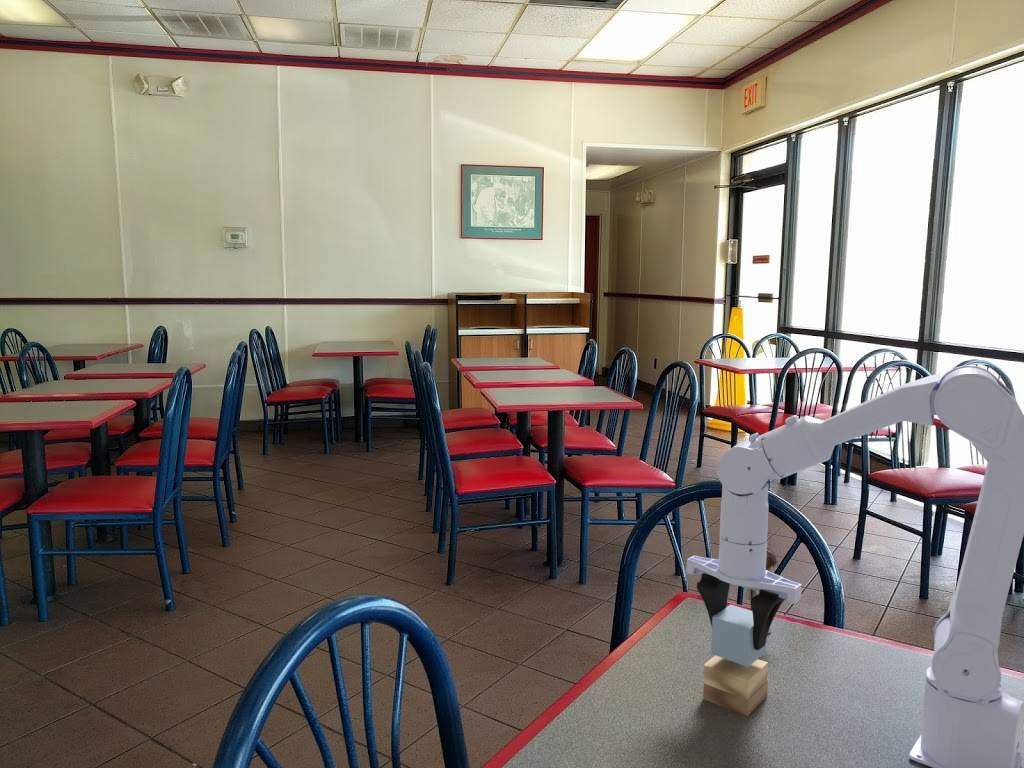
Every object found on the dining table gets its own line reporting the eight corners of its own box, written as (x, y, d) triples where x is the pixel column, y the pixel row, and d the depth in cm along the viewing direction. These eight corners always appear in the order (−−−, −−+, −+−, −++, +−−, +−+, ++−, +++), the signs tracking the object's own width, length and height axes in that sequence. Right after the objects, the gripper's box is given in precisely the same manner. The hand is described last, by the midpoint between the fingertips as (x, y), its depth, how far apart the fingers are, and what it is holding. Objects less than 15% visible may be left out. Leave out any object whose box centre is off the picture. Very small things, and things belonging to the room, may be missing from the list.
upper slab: (767, 680, 96) (768, 662, 96) (747, 700, 92) (748, 681, 92) (723, 665, 100) (724, 647, 100) (703, 683, 96) (703, 664, 95)
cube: (765, 652, 96) (767, 615, 95) (748, 667, 92) (749, 628, 91) (729, 640, 99) (730, 604, 98) (711, 653, 95) (712, 616, 95)
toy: (782, 639, 112) (787, 544, 110) (745, 636, 113) (749, 542, 111) (776, 621, 118) (781, 531, 116) (740, 618, 119) (744, 529, 117)
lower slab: (767, 699, 97) (767, 681, 96) (747, 719, 92) (748, 700, 92) (723, 683, 101) (724, 665, 100) (703, 701, 96) (703, 683, 96)
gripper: (813, 542, 91) (807, 647, 93) (705, 518, 101) (702, 613, 103) (790, 558, 86) (784, 668, 88) (679, 530, 96) (676, 630, 98)
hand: (738, 639), depth 95 cm, fingers closed on cube, 5 cm apart
